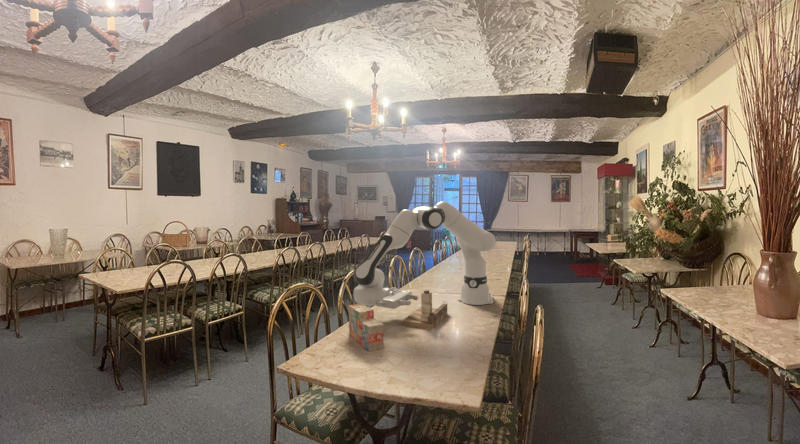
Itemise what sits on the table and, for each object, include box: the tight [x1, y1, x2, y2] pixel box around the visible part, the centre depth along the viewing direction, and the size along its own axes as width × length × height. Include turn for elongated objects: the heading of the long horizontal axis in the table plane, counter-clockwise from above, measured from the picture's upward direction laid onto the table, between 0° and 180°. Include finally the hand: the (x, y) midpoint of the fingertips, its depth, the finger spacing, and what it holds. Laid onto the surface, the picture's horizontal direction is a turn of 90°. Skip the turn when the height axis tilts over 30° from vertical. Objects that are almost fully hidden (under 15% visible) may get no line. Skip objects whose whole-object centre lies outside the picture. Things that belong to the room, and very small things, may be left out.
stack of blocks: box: [348, 303, 385, 352], centre depth 145 cm, size 21×6×12 cm, turn 27°
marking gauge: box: [420, 289, 433, 322], centre depth 164 cm, size 7×4×13 cm, turn 157°
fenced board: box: [401, 303, 448, 330], centre depth 171 cm, size 23×14×5 cm, turn 157°
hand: (414, 300), depth 166 cm, fingers open, 8 cm apart
